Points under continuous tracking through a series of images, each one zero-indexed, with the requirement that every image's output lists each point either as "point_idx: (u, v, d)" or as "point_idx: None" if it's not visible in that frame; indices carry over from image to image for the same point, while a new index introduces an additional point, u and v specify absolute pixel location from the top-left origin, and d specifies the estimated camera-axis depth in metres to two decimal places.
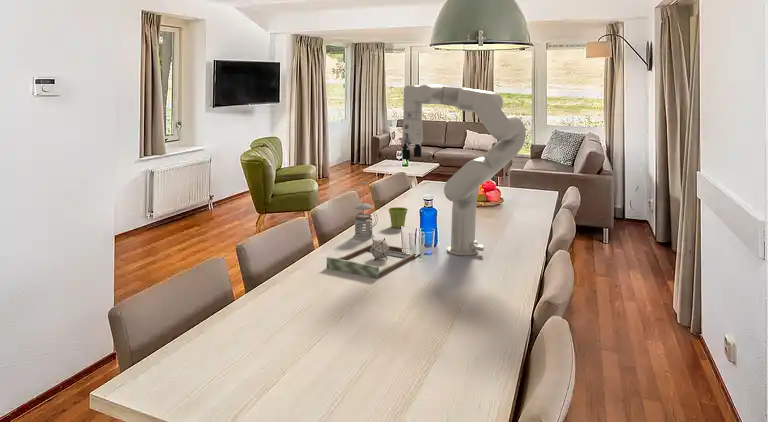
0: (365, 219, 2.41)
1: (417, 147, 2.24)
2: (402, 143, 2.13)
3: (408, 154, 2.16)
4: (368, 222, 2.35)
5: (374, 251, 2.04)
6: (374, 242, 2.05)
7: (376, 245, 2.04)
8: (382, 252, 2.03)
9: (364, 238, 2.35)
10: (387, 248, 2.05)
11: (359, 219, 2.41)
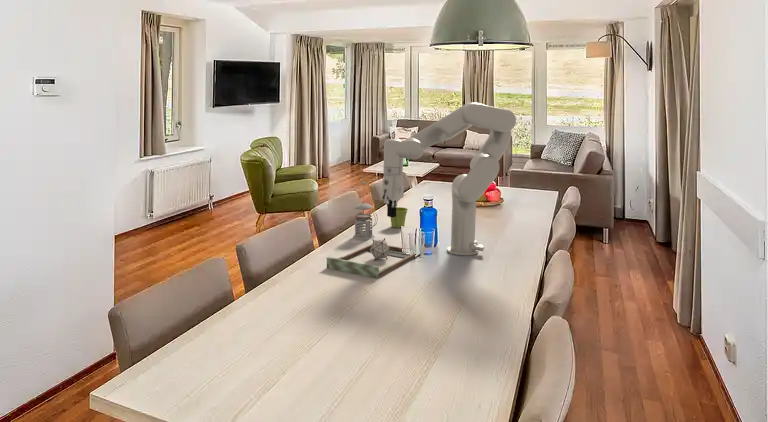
0: (365, 219, 2.41)
1: None
2: (387, 203, 2.08)
3: (393, 212, 2.11)
4: (368, 222, 2.35)
5: (374, 251, 2.04)
6: (374, 242, 2.05)
7: (376, 245, 2.04)
8: (382, 252, 2.03)
9: (364, 238, 2.35)
10: (387, 248, 2.05)
11: (359, 219, 2.41)
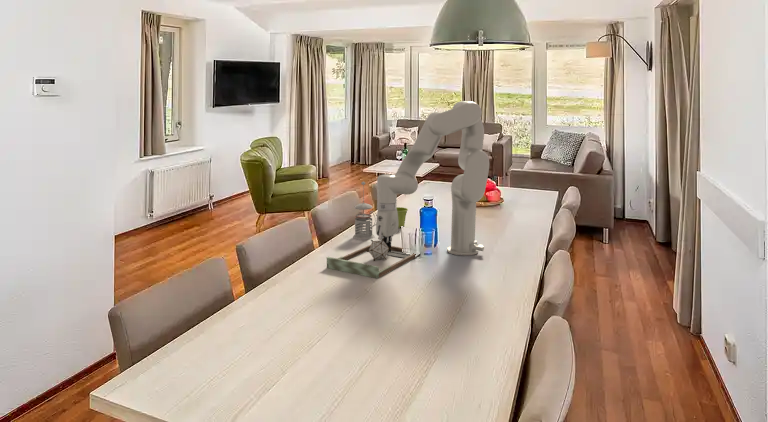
0: (365, 219, 2.41)
1: None
2: (381, 239, 2.07)
3: None
4: (368, 222, 2.35)
5: (373, 252, 2.02)
6: (373, 243, 2.04)
7: (375, 246, 2.03)
8: (381, 253, 2.02)
9: (364, 238, 2.35)
10: (386, 249, 2.04)
11: (359, 219, 2.41)
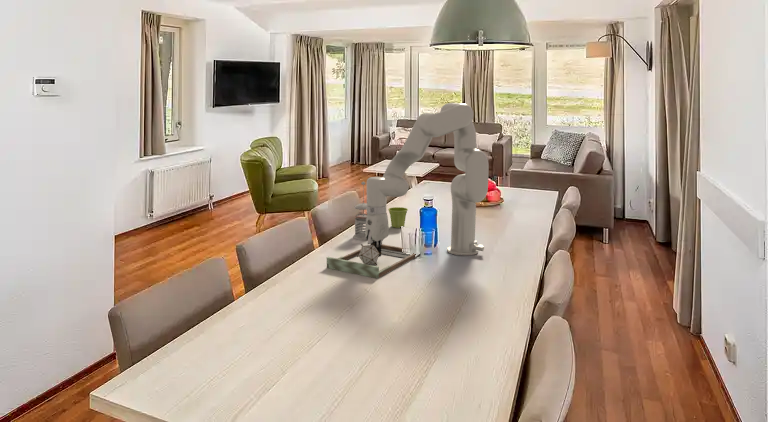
0: (365, 219, 2.41)
1: None
2: (371, 244, 2.01)
3: None
4: None
5: (363, 257, 1.96)
6: (363, 247, 1.98)
7: (365, 250, 1.97)
8: (371, 258, 1.96)
9: (364, 238, 2.35)
10: (376, 254, 1.97)
11: (359, 219, 2.41)
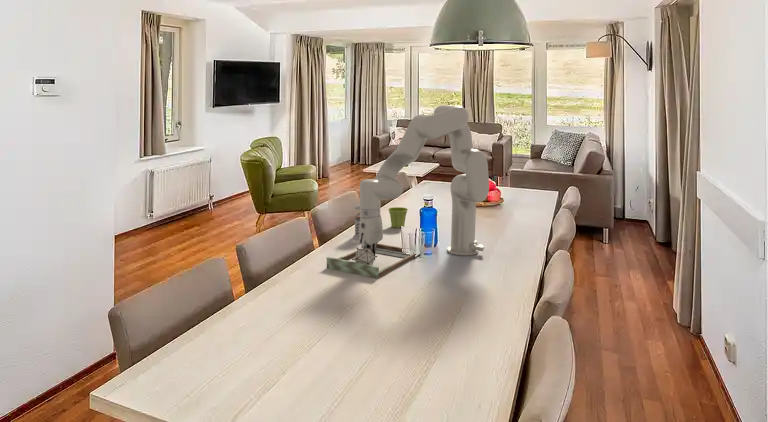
0: None
1: (371, 249, 2.01)
2: (364, 247, 1.97)
3: None
4: None
5: (358, 260, 1.92)
6: (358, 251, 1.94)
7: (360, 254, 1.93)
8: (366, 261, 1.92)
9: None
10: (372, 257, 1.93)
11: (359, 219, 2.41)
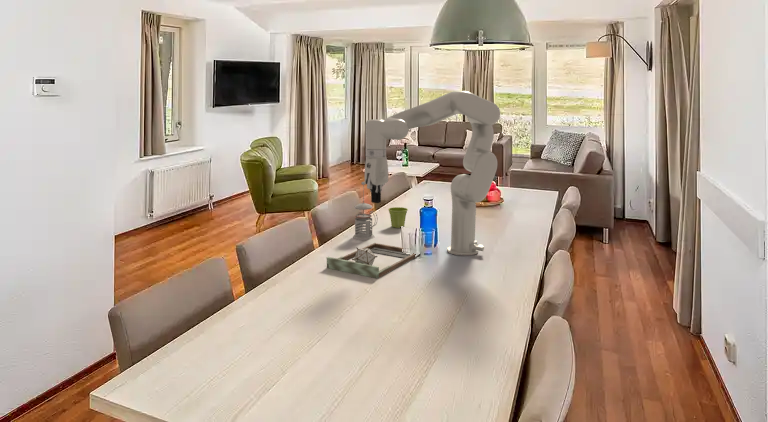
0: (365, 219, 2.41)
1: None
2: (370, 188, 1.95)
3: (377, 197, 1.98)
4: (368, 222, 2.35)
5: (358, 260, 1.92)
6: (358, 251, 1.94)
7: (360, 254, 1.93)
8: (366, 262, 1.92)
9: (364, 238, 2.35)
10: (372, 257, 1.93)
11: (359, 219, 2.41)
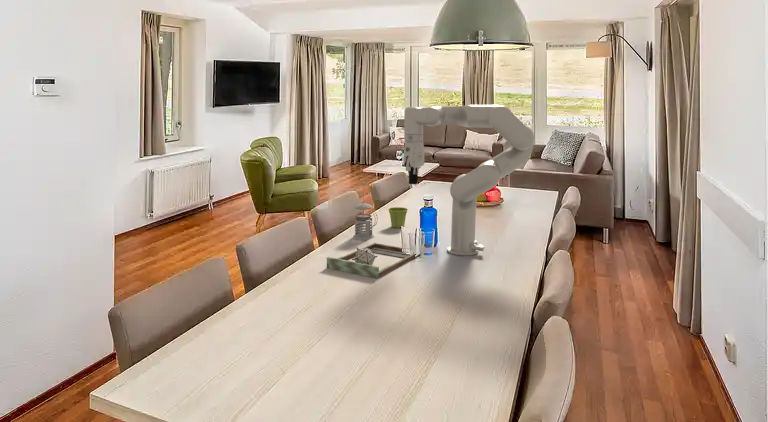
0: (365, 219, 2.41)
1: None
2: (408, 170, 2.12)
3: (414, 179, 2.14)
4: (368, 222, 2.35)
5: (358, 260, 1.92)
6: (358, 251, 1.94)
7: (360, 254, 1.93)
8: (366, 262, 1.92)
9: (364, 238, 2.35)
10: (372, 257, 1.93)
11: (359, 219, 2.41)
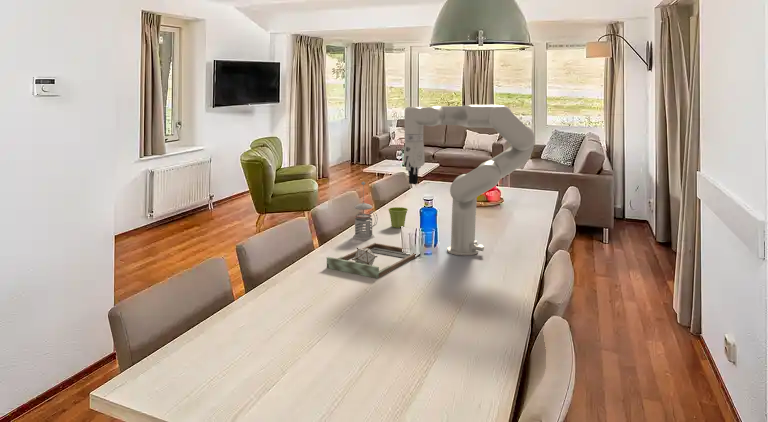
0: (365, 219, 2.41)
1: None
2: (408, 170, 2.12)
3: (415, 179, 2.15)
4: (368, 222, 2.35)
5: (358, 260, 1.92)
6: (358, 251, 1.94)
7: (360, 254, 1.93)
8: (366, 262, 1.92)
9: (364, 238, 2.35)
10: (372, 257, 1.93)
11: (359, 219, 2.41)
